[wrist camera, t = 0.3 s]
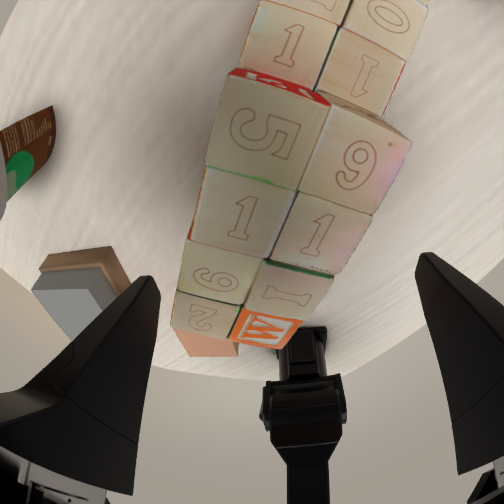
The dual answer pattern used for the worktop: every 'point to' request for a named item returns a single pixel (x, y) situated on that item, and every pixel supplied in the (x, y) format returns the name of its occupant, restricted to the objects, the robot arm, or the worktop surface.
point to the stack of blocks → (294, 165)
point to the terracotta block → (206, 345)
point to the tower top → (74, 297)
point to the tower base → (91, 265)
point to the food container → (24, 151)
